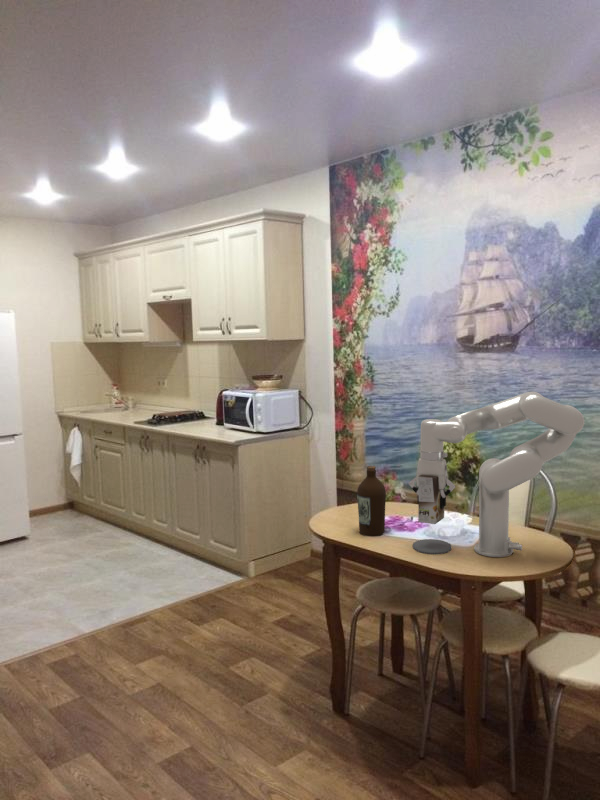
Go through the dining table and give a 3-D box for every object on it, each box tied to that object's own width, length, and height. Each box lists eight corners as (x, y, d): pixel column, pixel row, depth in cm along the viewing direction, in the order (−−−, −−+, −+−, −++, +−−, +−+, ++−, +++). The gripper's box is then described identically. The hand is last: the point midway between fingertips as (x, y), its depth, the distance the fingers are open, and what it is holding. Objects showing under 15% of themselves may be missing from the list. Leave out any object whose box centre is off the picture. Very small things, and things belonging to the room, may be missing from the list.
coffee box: (436, 524, 219) (436, 477, 218) (417, 522, 223) (417, 475, 221) (444, 517, 227) (445, 472, 225) (427, 515, 230) (427, 470, 229)
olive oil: (373, 526, 252) (372, 462, 249) (392, 533, 243) (391, 467, 241) (351, 531, 246) (350, 466, 243) (370, 538, 237) (369, 471, 235)
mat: (454, 544, 229) (454, 541, 229) (446, 556, 217) (446, 553, 217) (418, 540, 235) (418, 537, 234) (408, 551, 223) (408, 548, 223)
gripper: (459, 455, 222) (459, 506, 224) (409, 452, 229) (409, 501, 231) (455, 459, 215) (454, 512, 217) (403, 456, 223) (403, 507, 225)
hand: (431, 506), depth 224 cm, fingers closed on coffee box, 6 cm apart
